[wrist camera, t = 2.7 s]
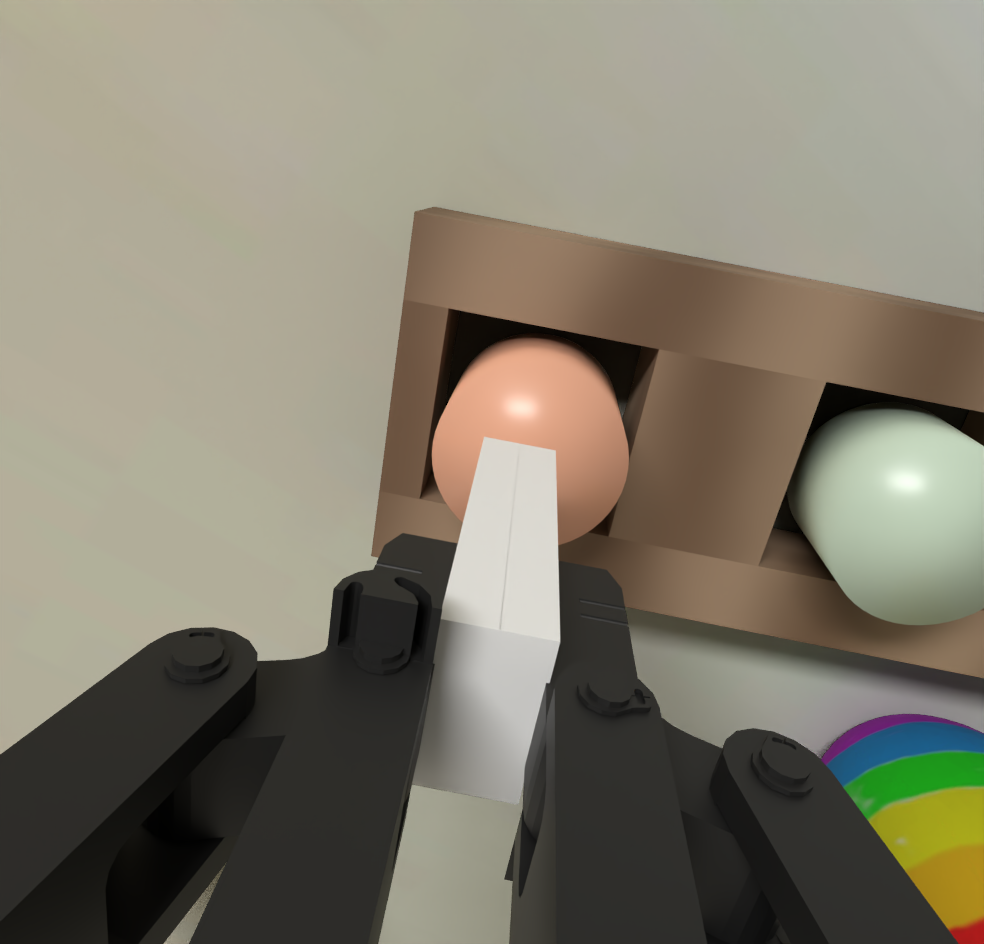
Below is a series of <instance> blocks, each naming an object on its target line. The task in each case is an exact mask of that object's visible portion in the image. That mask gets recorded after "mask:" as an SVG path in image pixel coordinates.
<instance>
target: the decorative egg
mask: <svg viewBox="0 0 984 944" xmlns="http://www.w3.org/2000/svg"><path fill="white" fill-rule="evenodd" d="M821 761H822V762H823V763H824V764H825V765H826V766H827V767H828V768H829V769H830V770H831V771H832V773H833V774H834V775H835V777H836V778H837V779H838V781H839V782H840V784H841V785H842V786H843V788H844V789H845V790H846V792H847V793H848V794H849V796H850V797H851V798H852V800H853V801H854V802H855V804H856V805H857V807H858V808H859V809H860V811H861V812H862V813H863V815H864V816H865V817H866V819H867V820H868V821H869V823H870V824H871V825H872V827H873V828H874V830H875V831H876V832H877V834H878V835H879V836H880V838H881V839H882V840H883V842H884V843H885V844H886V846H887V847H888V849H889V850H890V851H891V853H892V854H893V855H894V857H895V858H896V859H897V861H898V862H899V863H900V865H901V866H902V867H903V869H904V870H905V872H906V873H907V874H908V876H909V877H910V878H911V880H912V881H913V882H914V884H915V885H916V886H917V888H918V889H919V890H920V892H921V893H922V895H923V896H924V897H925V899H926V900H927V901H928V903H929V904H930V905H931V907H932V908H933V909H934V911H935V912H936V914H937V915H938V916H939V918H940V919H941V920H942V922H943V923H944V924H945V926H946V927H947V928H948V930H949V931H950V932H951V934H952V935H953V937H954V938H955V939H956V941H957V942H958V943H959V944H984V733H982V732H979V731H977V730H975V729H973V728H971V727H969V726H966V725H963V724H960V723H957V722H954V721H950V720H947V719H943V718H938V717H933V716H927V715H920V714H898V715H889V716H883V717H879V718H875V719H872V720H869V721H867V722H865V723H863V724H860V725H858V726H856V727H854V728H852V729H851V730H849V731H847V732H846V733H845V734H844V735H842V736H841V737H840V738H839V739H837V740H836V741H835V742H834V743H833V744H832V746H831V747H830V748H829V749H828V750H827V752H826V753H825V754H824V756H823V757H822V759H821Z"/></svg>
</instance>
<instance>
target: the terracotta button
mask: <svg viewBox="0 0 984 944" xmlns="http://www.w3.org/2000/svg"><path fill="white" fill-rule="evenodd" d="M484 437H488V438H494V439H499V440H504V441H509V442H514V443H520V444H525V445H530V446H535V447H541V448H546V449H551V450H556V480H557V523H558V545H561V544H564V543H567V542H570V541H572V540H574V539H576V538H578V537H580V536H582V535H584V534H586V533H587V532H589V531H590V530H592V529H593V528H594V527H595V526H597V525H598V524H599V523H600V522H601V521H602V520H603V519H604V518H605V517H606V516H607V515H608V514H609V513H610V511H611V510H612V508H613V507H614V506H615V504H616V503H617V501H618V499H619V497H620V495H621V493H622V491H623V488H624V485H625V482H626V478H627V473H628V465H629V451H628V443H627V439H626V434H625V430H624V426H623V422H622V418H621V414H620V410H619V406H618V402H617V398H616V394H615V390H614V388H613V385H612V382H611V380H610V378H609V376H608V374H607V373H606V371H605V369H604V368H603V367H602V365H601V364H600V363H599V362H598V361H597V359H596V358H595V357H594V356H593V355H592V354H590V353H589V352H588V351H587V350H585V349H584V348H583V347H581V346H579V345H578V344H576V343H574V342H572V341H570V340H567V339H565V338H562V337H559V336H555V335H551V334H544V333H526V334H518V335H514V336H511V337H507V338H504V339H502V340H500V341H497V342H495V343H494V344H492V345H490V346H489V347H487V348H486V349H484V350H483V351H482V352H481V353H479V354H478V355H477V356H476V357H475V358H474V359H473V360H472V361H471V362H470V364H469V365H468V366H467V368H466V369H465V371H464V372H463V374H462V376H461V378H460V380H459V382H458V384H457V386H456V388H455V390H454V392H453V394H452V396H451V398H450V400H449V402H448V404H447V406H446V408H445V410H444V412H443V414H442V416H441V418H440V420H439V423H438V425H437V428H436V431H435V435H434V439H433V446H432V466H433V471H434V476H435V480H436V483H437V486H438V489H439V491H440V493H441V495H442V497H443V499H444V501H445V502H446V504H447V505H448V507H449V508H450V510H451V511H452V512H453V513H454V514H455V515H456V516H457V518H458V519H459V520H461V521H462V522H463V520H464V516H465V512H466V508H467V504H468V500H469V496H470V492H471V488H472V484H473V480H474V476H475V472H476V468H477V464H478V460H479V456H480V452H481V448H482V443H483V439H484Z"/></svg>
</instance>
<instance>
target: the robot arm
mask: <svg viewBox="0 0 984 944" xmlns="http://www.w3.org/2000/svg"><path fill="white" fill-rule="evenodd" d="M627 624H628V621H627V615H626V611H625V604H624V598H623V592H622V588H621V587H620V585H619V584H618V583H617V582H616V580H615V579H614V578H613V577H612V575H611V574H610V573H609V572H608V570H606V569H600V568H595V567H590V566H585V565H579V564H574V563H569V562H564V561H559V560H558V523H557V480H556V450H551V449H546V448H541V447H535V446H530V445H525V444H520V443H514V442H509V441H504V440H499V439H494V438H488V437H484V439H483V443H482V448H481V452H480V456H479V460H478V464H477V468H476V472H475V476H474V480H473V484H472V488H471V492H470V496H469V500H468V504H467V508H466V512H465V516H464V520H463V525H462V529H461V533H460V537H459V541H458V543H453V542H448V541H443V540H437V539H432V538H427V537H422V536H417V535H411V534H406V533H402V534H400V535H399V536H397V537H396V538H394V539H393V540H391V541H390V542H388V543H387V544H385V545H384V547H383V549H382V551H381V554H380V556H379V558H378V561H377V564H376V565H375V567H374V570H369V571H362V572H357V573H355V574H353V575H350V576H348V577H346V578H343V579H342V581H341V582H340V583H339V584H338V585H337V586H336V587H335V588H334V591H333V600H332V610H331V619H330V629H329V638H328V646H327V648H326V650H325V651H323V652H321V653H319V654H316V655H313V656H309V657H305V658H301V659H292V660H276V661H257V652H256V650H255V649H254V647H253V646H252V644H251V643H250V641H249V640H247V639H245V638H243V637H242V636H240V635H238V634H237V633H235V632H232V631H227V630H223V629H218V628H214V627H213V628H189V629H185V630H181V631H177V632H173V633H169V634H167V635H165V636H163V637H161V638H159V639H157V640H156V641H154V642H152V643H150V644H149V645H147V646H146V647H145V648H143V649H142V650H141V651H139V652H138V653H136V654H135V655H134V656H132V657H131V658H130V659H128V660H127V661H126V662H124V663H123V664H122V665H120V666H119V667H118V668H116V669H115V670H114V671H112V672H111V673H110V674H108V675H107V676H106V677H104V678H103V679H102V680H100V681H99V682H97V683H96V684H95V685H93V686H92V687H91V688H89V689H88V690H87V691H85V692H84V693H83V694H81V695H80V696H79V697H77V698H76V699H75V700H73V701H72V702H71V703H69V704H68V705H67V706H65V707H64V708H62V709H61V710H60V711H58V712H57V713H56V714H54V715H53V716H52V717H50V718H49V719H48V720H46V721H45V722H44V723H42V724H41V725H40V726H38V727H37V728H36V729H34V730H33V731H32V732H30V733H29V734H28V735H26V736H25V737H23V738H22V739H21V740H19V741H18V742H17V743H15V744H14V745H13V746H11V747H10V748H9V749H7V750H6V751H5V752H3V753H2V754H1V755H0V944H163V943H164V942H165V941H166V939H167V938H168V937H169V936H170V934H171V933H172V932H173V930H174V929H175V928H176V927H177V925H178V924H179V923H180V921H181V920H182V919H183V918H184V916H185V915H186V914H187V912H188V911H189V910H190V909H191V907H192V906H193V905H194V903H195V902H196V901H197V900H198V898H199V897H200V896H201V894H202V893H203V892H204V891H205V889H206V888H207V887H208V885H209V884H210V883H211V882H212V880H213V879H214V878H215V876H216V875H217V874H218V873H219V871H220V870H221V869H222V867H223V866H224V865H225V864H226V865H225V867H224V870H223V872H222V874H221V876H220V878H219V880H218V883H217V885H216V887H215V889H214V891H213V893H212V895H211V898H210V900H209V902H208V904H207V906H206V908H205V911H204V913H203V915H202V917H201V919H200V921H199V923H198V926H197V928H196V930H195V932H194V934H193V936H192V939H191V941H190V943H189V944H378V942H379V937H380V933H381V928H382V923H383V919H384V914H385V910H386V905H387V901H388V896H389V891H390V887H391V882H392V878H393V873H394V869H395V864H396V860H397V855H398V850H399V846H400V841H401V837H402V832H403V828H404V823H405V819H406V813H407V807H408V802H409V796H410V790H411V786H412V784H413V785H418V786H423V787H428V788H433V789H439V790H444V791H449V792H454V793H460V794H465V795H470V796H475V797H480V798H486V799H491V800H496V801H501V802H507V803H512V804H517V805H518V804H519V800H520V796H521V792H522V788H523V784H524V793H523V810H522V814H521V818H520V821H519V825H518V829H517V833H516V837H515V841H514V844H513V848H512V852H511V856H510V860H509V863H508V867H507V871H506V875H505V880H510V881H513V885H512V903H511V922H510V940H509V944H959V943H958V942H957V941H956V939H955V938H954V937H953V935H952V934H951V932H950V931H949V930H948V928H947V927H946V926H945V924H944V923H943V922H942V920H941V919H940V918H939V916H938V915H937V914H936V912H935V911H934V909H933V908H932V907H931V905H930V904H929V903H928V901H927V900H926V899H925V897H924V896H923V895H922V893H921V892H920V890H919V889H918V888H917V886H916V885H915V884H914V882H913V881H912V880H911V878H910V877H909V876H908V874H907V873H906V872H905V870H904V869H903V867H902V866H901V865H900V863H899V862H898V861H897V859H896V858H895V857H894V855H893V854H892V853H891V851H890V850H889V849H888V847H887V846H886V844H885V843H884V842H883V840H882V839H881V838H880V836H879V835H878V834H877V832H876V831H875V830H874V828H873V827H872V825H871V824H870V823H869V821H868V820H867V819H866V817H865V816H864V815H863V813H862V812H861V811H860V809H859V808H858V807H857V805H856V804H855V802H854V801H853V800H852V798H851V797H850V796H849V794H848V793H847V792H846V790H845V789H844V788H843V786H842V785H841V784H840V782H839V781H838V779H837V778H836V777H835V775H834V774H833V773H832V771H831V770H830V769H829V768H828V767H827V766H826V765H825V764H824V763H823V762H822V761H821V760H820V759H819V758H818V757H817V756H816V755H815V754H814V753H813V752H811V751H810V750H808V749H807V748H805V747H804V746H802V745H801V744H799V743H798V742H796V741H795V740H792V739H790V738H787V737H785V736H783V735H780V734H778V733H775V732H772V731H766V730H760V729H754V728H753V729H746V730H740V731H736V732H735V733H734V734H732V735H731V736H730V737H729V738H727V739H726V741H725V743H724V746H723V748H720V747H717V746H715V745H713V744H710V743H708V742H706V741H703V740H701V739H699V738H696V737H694V736H692V735H689V734H687V733H685V732H684V731H682V730H680V729H678V728H676V727H674V726H672V725H671V724H670V723H668V722H667V721H666V720H664V719H663V718H661V713H660V708H659V705H658V703H657V701H656V699H655V697H654V695H653V693H652V692H651V691H650V690H649V689H648V688H647V687H646V686H645V685H644V684H643V683H642V682H641V681H640V680H639V679H638V678H637V672H636V667H635V661H634V655H633V649H632V644H631V638H630V632H629V627H628V626H627ZM226 862H227V863H226Z"/></svg>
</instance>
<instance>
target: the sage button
mask: <svg viewBox="0 0 984 944" xmlns="http://www.w3.org/2000/svg"><path fill="white" fill-rule="evenodd" d="M787 488H788V502H789V506H790V509H791V512H792V515H793V517H794V519H795V521H796V523H797V524H798V526H799V527H800V528H801V530H802V531H803V533H804V534H805V536H806V537H807V539H808V540H809V542H810V543H811V545H812V546H813V548H814V549H815V550H816V552H817V553H818V555H819V556H820V558H821V559H822V561H823V562H824V564H825V565H826V567H827V568H828V570H829V571H830V573H831V574H832V575H833V577H834V578H835V580H836V581H837V583H838V584H839V586H840V587H841V589H842V590H843V591H844V593H845V594H846V596H847V597H848V598H849V599H850V600H851V601H852V602H853V603H854V604H856V605H857V606H858V607H860V608H861V609H862V610H864V611H866V612H867V613H869V614H871V615H873V616H875V617H878V618H880V619H883V620H886V621H890V622H893V623H898V624H905V625H933V624H940V623H945V622H950V621H954V620H957V619H961V618H963V617H966V616H969V615H971V614H974V613H976V612H978V611H980V610H982V609H984V446H983V445H981V444H979V443H978V442H976V441H975V440H973V439H972V438H970V437H968V436H967V435H965V434H964V433H962V432H961V431H959V430H958V429H956V428H954V427H953V426H951V425H950V424H948V423H947V422H945V421H943V420H942V419H940V418H939V417H937V416H936V415H934V414H932V413H931V412H929V411H927V410H925V409H922V408H920V407H917V406H914V405H910V404H906V403H898V402H880V403H871V404H867V405H862V406H859V407H856V408H853V409H850V410H847V411H845V412H843V413H841V414H839V415H837V416H835V417H834V418H832V419H831V420H829V421H827V422H826V423H825V424H823V425H822V426H821V427H820V428H818V429H817V430H816V431H815V432H814V433H813V434H812V435H811V436H810V437H809V438H808V439H807V441H806V442H805V443H804V445H803V446H802V449H801V452H800V454H799V457H798V460H797V463H796V465H795V468H794V471H793V473H792V476H791V479H790V481H789V484H788V487H787Z"/></svg>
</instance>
